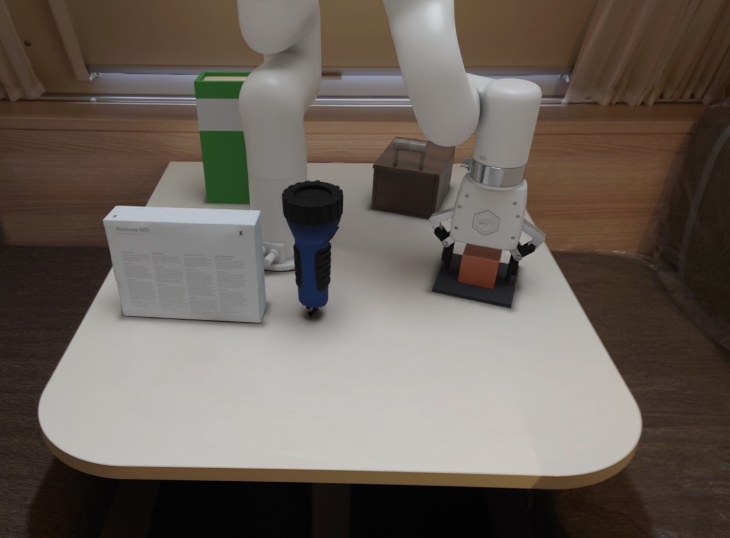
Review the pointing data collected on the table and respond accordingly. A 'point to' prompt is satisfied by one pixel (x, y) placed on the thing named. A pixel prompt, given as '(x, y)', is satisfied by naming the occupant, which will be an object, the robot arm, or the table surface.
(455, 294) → the mat
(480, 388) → the table surface
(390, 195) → the chest
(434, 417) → the table surface
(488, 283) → the small box
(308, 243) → the flashlight
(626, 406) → the table surface
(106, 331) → the table surface
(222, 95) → the hardback book
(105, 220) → the skincare box
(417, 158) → the lid
